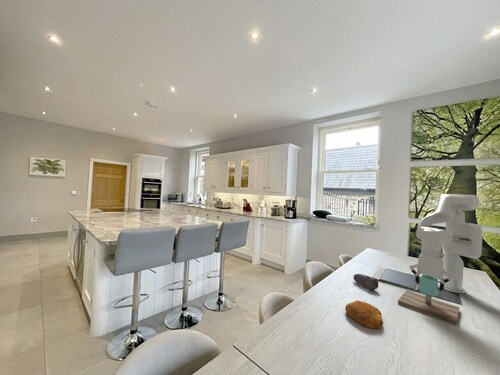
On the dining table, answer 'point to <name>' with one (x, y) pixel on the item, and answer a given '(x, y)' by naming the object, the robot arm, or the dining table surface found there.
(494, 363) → the dining table surface
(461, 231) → the robot arm
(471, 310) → the dining table surface
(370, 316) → the croissant
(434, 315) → the stud board
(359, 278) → the perforated stone tool
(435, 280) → the teal block
